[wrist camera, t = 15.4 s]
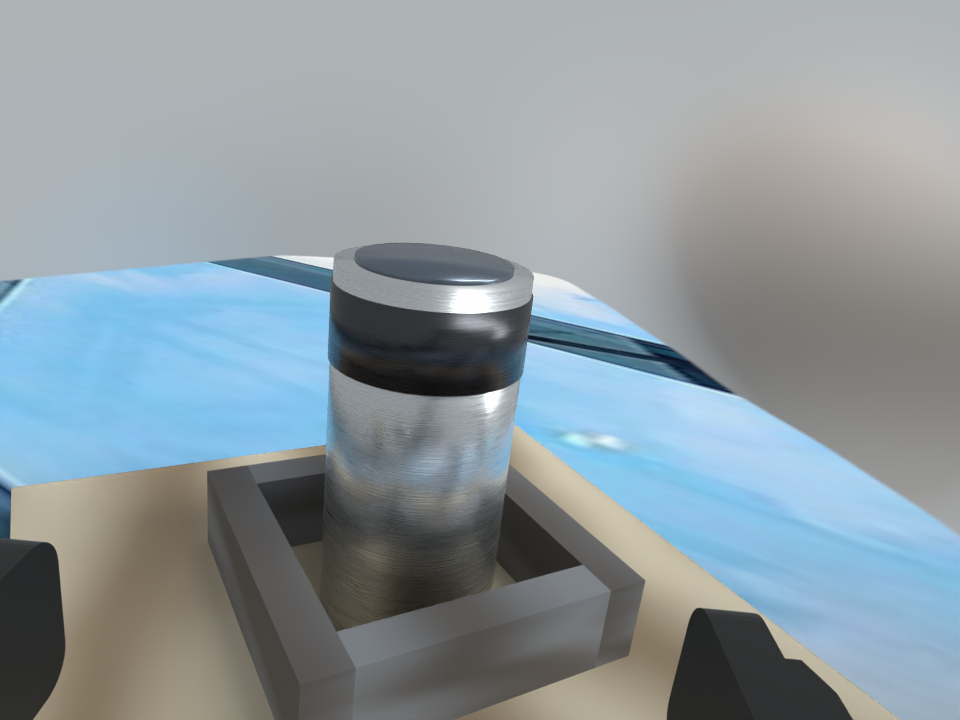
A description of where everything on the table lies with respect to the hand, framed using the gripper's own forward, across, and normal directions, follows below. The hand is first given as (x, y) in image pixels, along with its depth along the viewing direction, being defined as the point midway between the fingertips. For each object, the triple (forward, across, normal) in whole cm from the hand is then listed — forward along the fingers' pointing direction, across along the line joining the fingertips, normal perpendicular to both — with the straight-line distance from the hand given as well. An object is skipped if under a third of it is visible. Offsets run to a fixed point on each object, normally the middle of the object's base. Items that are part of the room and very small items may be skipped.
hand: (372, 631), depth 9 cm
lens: (+10, 0, +8) cm, 13 cm away
